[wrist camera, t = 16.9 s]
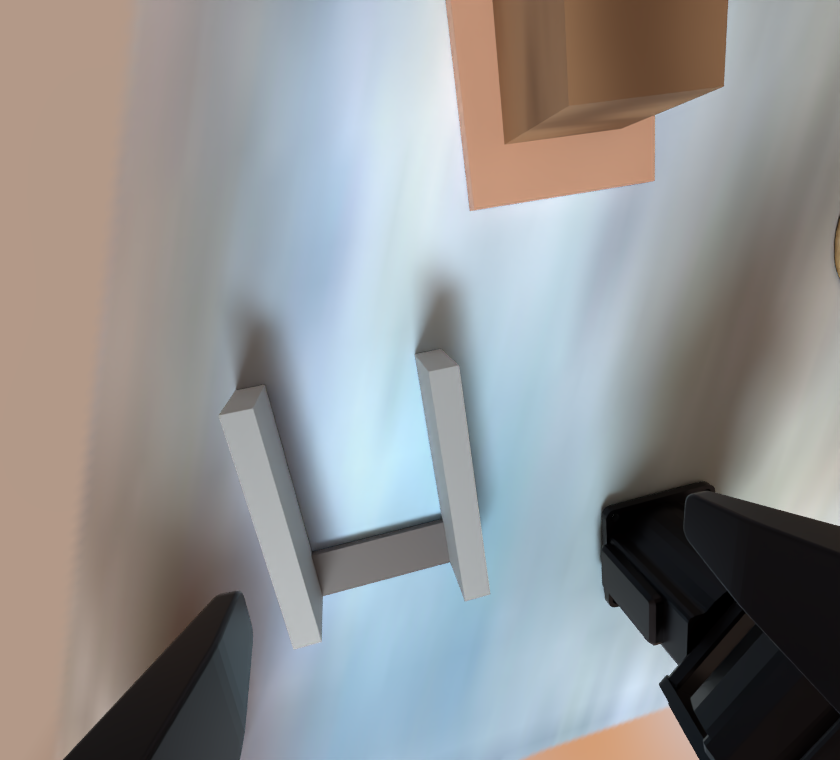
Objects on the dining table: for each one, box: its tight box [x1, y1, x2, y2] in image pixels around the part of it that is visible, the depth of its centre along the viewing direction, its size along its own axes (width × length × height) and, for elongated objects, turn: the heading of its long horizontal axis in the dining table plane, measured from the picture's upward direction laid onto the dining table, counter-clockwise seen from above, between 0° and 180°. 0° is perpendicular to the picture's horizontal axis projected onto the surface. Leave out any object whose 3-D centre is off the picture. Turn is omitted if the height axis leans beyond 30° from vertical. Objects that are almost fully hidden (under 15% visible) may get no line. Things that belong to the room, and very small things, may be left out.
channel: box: [219, 349, 490, 649], centre depth 20 cm, size 9×11×3 cm
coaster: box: [446, 0, 655, 211], centre depth 17 cm, size 8×8×1 cm
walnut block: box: [492, 0, 728, 144], centre depth 15 cm, size 5×5×5 cm
